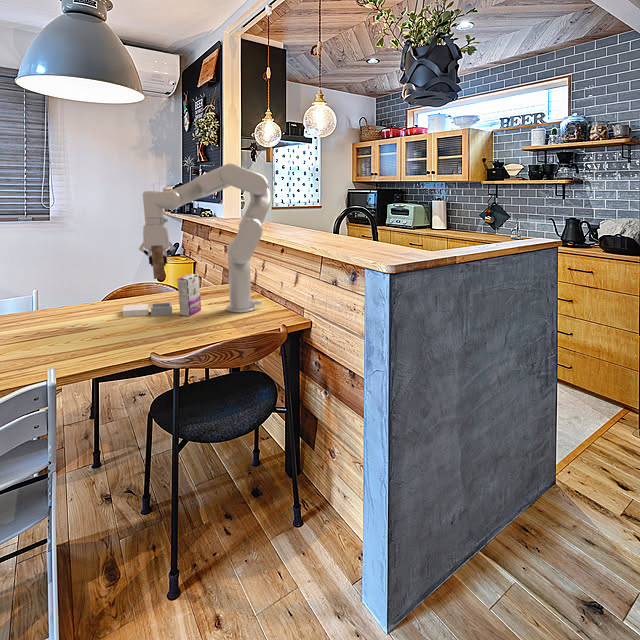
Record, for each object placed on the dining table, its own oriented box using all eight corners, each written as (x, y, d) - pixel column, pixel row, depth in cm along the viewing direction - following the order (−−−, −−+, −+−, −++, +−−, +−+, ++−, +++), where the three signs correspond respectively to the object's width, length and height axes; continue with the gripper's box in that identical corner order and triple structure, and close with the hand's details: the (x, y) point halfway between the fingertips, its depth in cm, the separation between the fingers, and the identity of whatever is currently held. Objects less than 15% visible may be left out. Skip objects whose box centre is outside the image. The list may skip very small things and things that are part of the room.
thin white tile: (148, 309, 209) (148, 304, 209) (148, 315, 200) (147, 309, 200) (124, 310, 206) (123, 305, 206) (123, 316, 197) (122, 311, 196)
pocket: (171, 309, 209) (171, 302, 208) (172, 314, 201) (171, 307, 200) (151, 311, 206) (150, 303, 206) (151, 316, 199) (150, 308, 198)
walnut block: (164, 276, 202) (162, 244, 199) (165, 278, 198) (162, 245, 194) (153, 277, 201) (150, 244, 197) (154, 278, 197) (151, 245, 193)
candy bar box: (191, 309, 211) (189, 273, 206) (201, 310, 210) (199, 274, 205) (179, 315, 200) (176, 278, 196) (190, 316, 199) (187, 278, 195)
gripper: (175, 220, 199) (178, 263, 204) (133, 221, 194) (137, 265, 199) (176, 222, 192) (179, 266, 198) (132, 222, 187) (137, 268, 192)
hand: (158, 265), depth 198 cm, fingers closed on walnut block, 4 cm apart
